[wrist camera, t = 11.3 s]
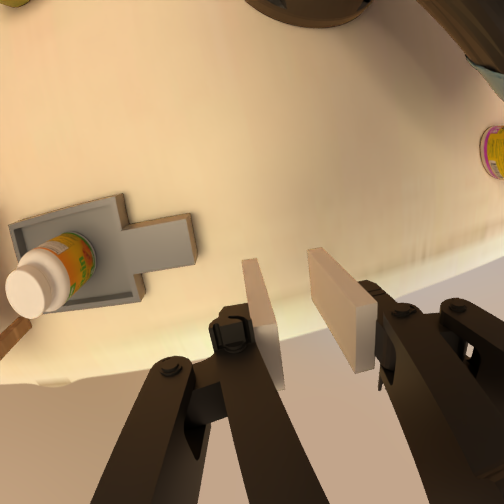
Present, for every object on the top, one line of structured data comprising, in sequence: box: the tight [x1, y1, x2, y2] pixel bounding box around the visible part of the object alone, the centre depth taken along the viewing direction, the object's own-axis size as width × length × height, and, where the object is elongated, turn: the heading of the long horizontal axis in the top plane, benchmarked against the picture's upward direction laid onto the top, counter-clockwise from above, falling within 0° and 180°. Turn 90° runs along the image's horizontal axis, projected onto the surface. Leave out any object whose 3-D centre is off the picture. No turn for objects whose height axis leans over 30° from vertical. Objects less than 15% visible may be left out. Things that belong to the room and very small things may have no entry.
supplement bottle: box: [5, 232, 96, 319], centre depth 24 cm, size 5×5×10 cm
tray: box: [8, 193, 198, 314], centre depth 28 cm, size 19×10×3 cm, turn 98°
